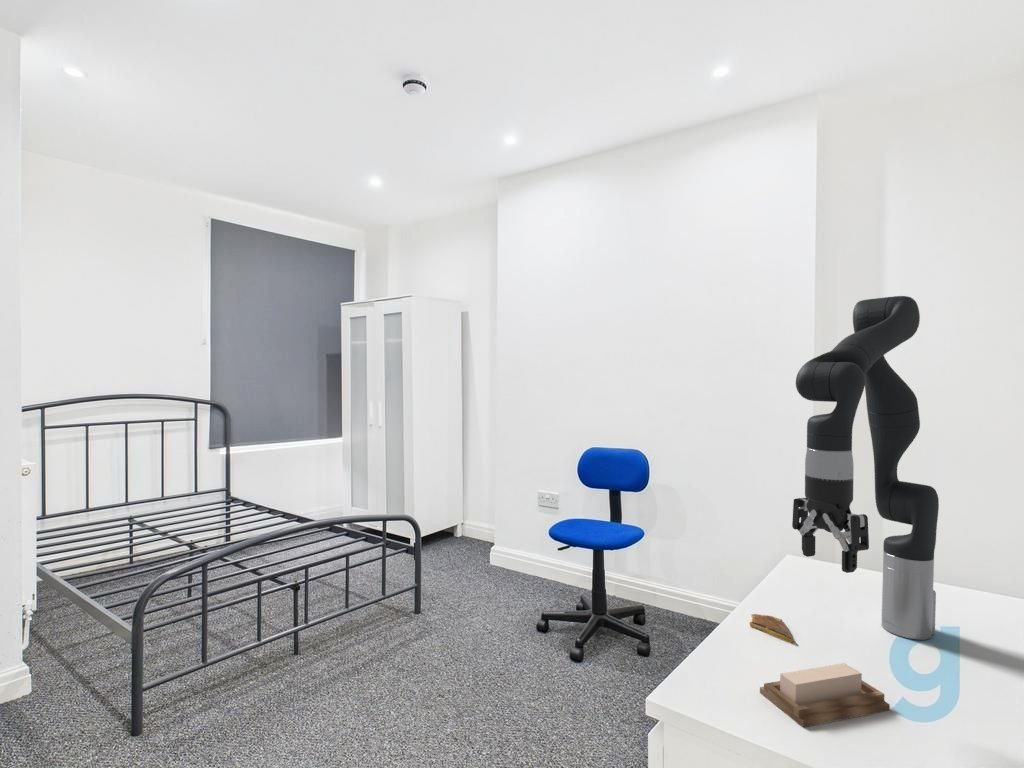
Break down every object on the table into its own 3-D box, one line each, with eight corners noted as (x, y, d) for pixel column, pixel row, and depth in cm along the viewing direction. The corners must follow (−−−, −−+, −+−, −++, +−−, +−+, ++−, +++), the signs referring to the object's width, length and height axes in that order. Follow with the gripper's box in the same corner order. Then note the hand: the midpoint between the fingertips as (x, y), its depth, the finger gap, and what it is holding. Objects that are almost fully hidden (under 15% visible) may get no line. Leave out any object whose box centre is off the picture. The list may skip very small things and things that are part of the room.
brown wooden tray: (840, 678, 104) (840, 667, 104) (889, 710, 94) (889, 697, 94) (759, 692, 99) (760, 680, 99) (803, 727, 90) (803, 713, 90)
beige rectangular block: (844, 684, 100) (844, 663, 100) (861, 695, 97) (861, 673, 97) (779, 696, 96) (780, 673, 96) (795, 708, 93) (795, 684, 93)
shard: (793, 646, 117) (794, 638, 117) (754, 642, 119) (755, 634, 119) (781, 624, 128) (782, 616, 128) (746, 620, 129) (746, 612, 129)
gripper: (881, 480, 93) (880, 575, 94) (813, 465, 107) (812, 548, 107) (846, 483, 91) (845, 580, 92) (781, 468, 105) (781, 552, 105)
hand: (827, 563), depth 99 cm, fingers open, 8 cm apart
